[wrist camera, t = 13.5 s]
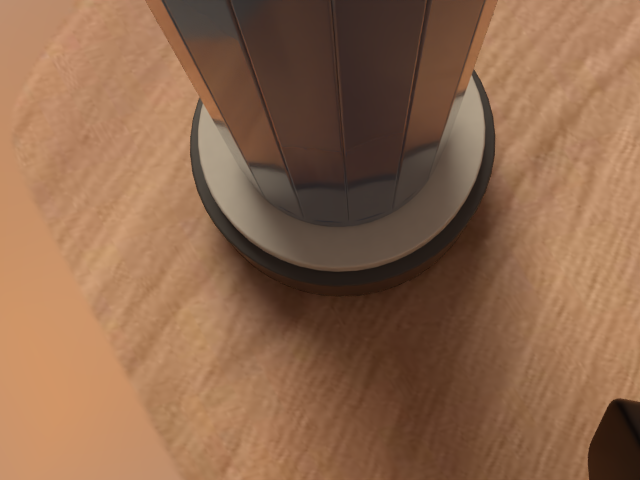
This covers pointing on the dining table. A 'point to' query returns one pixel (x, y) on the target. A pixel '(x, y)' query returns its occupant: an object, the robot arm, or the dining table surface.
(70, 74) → the dining table surface
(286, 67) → the cup
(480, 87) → the beige and brown disc
